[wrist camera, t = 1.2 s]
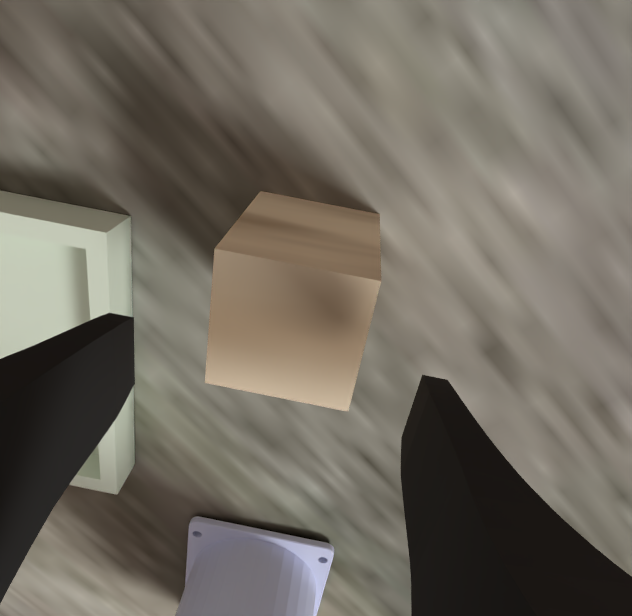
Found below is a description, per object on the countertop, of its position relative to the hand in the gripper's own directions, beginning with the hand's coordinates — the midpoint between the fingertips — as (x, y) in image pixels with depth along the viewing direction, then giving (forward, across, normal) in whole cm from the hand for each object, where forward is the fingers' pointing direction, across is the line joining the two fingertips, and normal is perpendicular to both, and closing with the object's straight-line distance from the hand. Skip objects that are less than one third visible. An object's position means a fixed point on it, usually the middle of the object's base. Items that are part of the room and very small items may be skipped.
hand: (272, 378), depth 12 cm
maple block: (+8, 0, 0) cm, 8 cm away
